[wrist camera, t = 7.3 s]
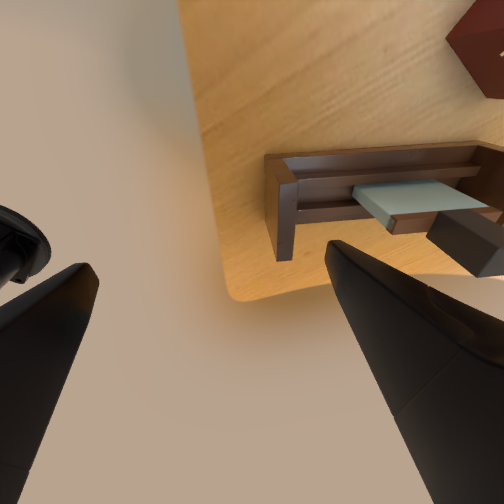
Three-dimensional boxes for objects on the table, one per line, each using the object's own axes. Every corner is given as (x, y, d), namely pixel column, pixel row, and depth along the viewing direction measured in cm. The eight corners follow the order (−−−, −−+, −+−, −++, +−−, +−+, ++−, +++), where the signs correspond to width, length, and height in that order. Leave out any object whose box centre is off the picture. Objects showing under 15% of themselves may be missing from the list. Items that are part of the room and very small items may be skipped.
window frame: (265, 220, 22) (276, 262, 17) (264, 154, 18) (279, 183, 13) (444, 206, 23) (504, 241, 18) (478, 140, 19) (566, 162, 14)
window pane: (349, 201, 20) (431, 283, 12) (355, 178, 19) (449, 253, 11) (426, 195, 20) (554, 270, 12) (436, 172, 19) (586, 240, 11)
